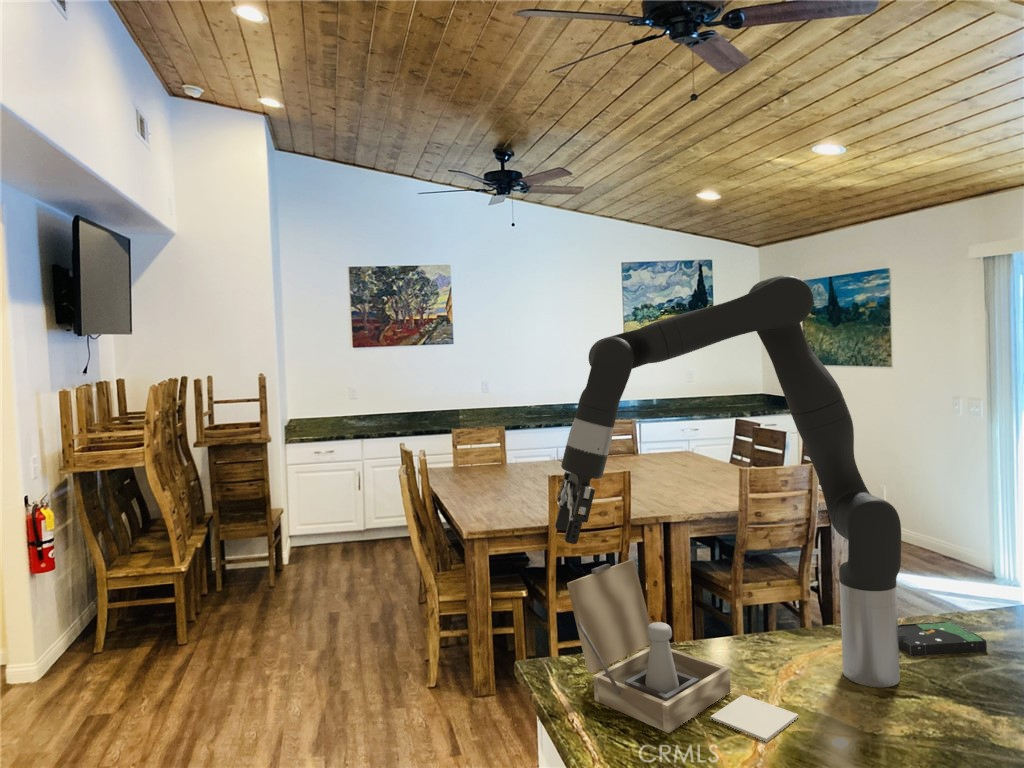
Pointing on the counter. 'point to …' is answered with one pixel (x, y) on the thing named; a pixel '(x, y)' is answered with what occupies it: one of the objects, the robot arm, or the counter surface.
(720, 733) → the counter surface
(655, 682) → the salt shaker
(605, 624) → the lid
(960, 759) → the counter surface
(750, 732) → the tile
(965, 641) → the disk drive
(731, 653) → the counter surface
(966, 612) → the counter surface
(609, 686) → the case
